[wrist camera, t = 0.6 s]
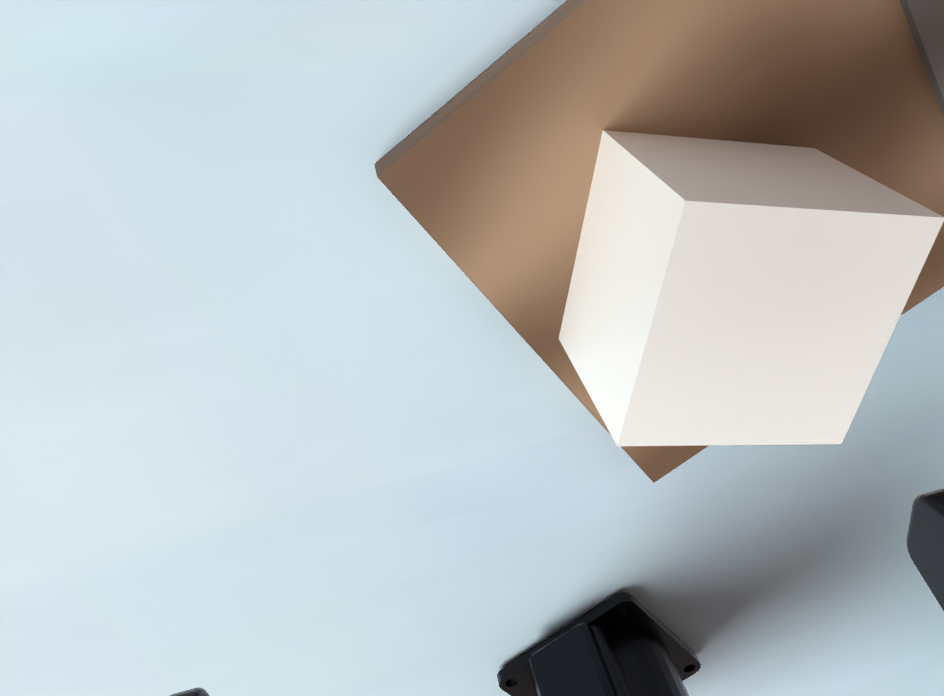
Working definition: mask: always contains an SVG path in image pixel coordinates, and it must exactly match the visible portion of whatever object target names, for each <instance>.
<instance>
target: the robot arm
mask: <svg viewBox="0 0 944 696" xmlns="http://www.w3.org/2000/svg"><path fill="white" fill-rule="evenodd" d="M907 547H908V551H909V554H910V556H911V559H912V560H913V562H914V564H915V565H916V567H917V569H918V570H919V572H920V573H921V575H922V577H923V578H924V580H925V581H926V583H927V585H928V586H929V588H930V589H931V591H932V593H933V594H934V596H935V597H936V599H937V601H938V602H939V604H940V605H941V607H942V609H943V610H944V489H940V490H937V491H933V492H929V493H925V494H922V495H919V496H918V497H917V498H916V499H915V500H914V502H913V506H912V512H911V518H910V524H909V530H908V535H907ZM700 666H701V664H700V662H699V660H698V658H697V656H696V655H695V654H694V653H693V652H692V651H691V650H690V649H689V648H688V647H687V646H686V645H685V644H684V643H683V642H681V641H680V640H679V639H678V638H677V637H676V636H675V635H674V634H673V633H672V632H671V631H670V630H668V629H667V628H666V627H665V626H664V625H663V624H662V623H661V622H660V621H659V620H658V619H657V618H655V617H654V616H653V615H652V614H651V613H650V612H649V611H648V610H647V609H646V608H645V607H644V606H642V605H641V604H640V603H639V602H638V601H637V600H636V599H635V598H634V597H633V596H632V595H630V594H628V593H620V594H617V595H615V596H613V597H612V598H610V599H609V600H607V601H606V602H604V603H603V604H601V605H600V606H598V607H597V608H595V609H593V610H592V611H590V612H589V613H587V614H586V615H584V616H583V617H581V618H580V619H578V620H577V621H575V622H573V623H572V624H570V625H569V626H567V627H566V628H564V629H563V630H561V631H560V632H558V633H557V634H555V635H553V636H552V637H550V638H549V639H547V640H546V641H544V642H543V643H541V644H540V645H538V646H537V647H535V648H533V649H532V650H530V651H529V652H527V653H526V654H524V655H523V656H521V657H520V658H518V659H517V660H515V661H513V662H512V663H510V664H509V665H507V666H506V667H504V668H503V669H501V670H500V671H499V672H498V674H497V678H498V683H499V687H500V688H501V689H502V690H504V691H505V692H507V693H508V694H509V695H511V696H689V695H688V693H687V691H686V688H685V686H684V684H683V682H682V681H683V680H685V679H686V678H688V677H690V676H691V675H693V674H695V673H696V672H697V671H698V670H699V669H700ZM170 696H209V694H208V693H207V692H206V690H204V689H202V688H194V689H190V690H187V691H183V692H179V693H175V694H173V695H170Z"/></svg>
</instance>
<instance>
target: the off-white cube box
mask: <svg viewBox="0 0 944 696" xmlns="http://www.w3.org/2000/svg"><path fill="white" fill-rule="evenodd" d="M943 222H944V217H943V216H941V215H939V214H937V213H935V212H933V211H932V210H930V209H928V208H926V207H924V206H922V205H920V204H918V203H917V202H915V201H913V200H911V199H909V198H907V197H905V196H903V195H902V194H900V193H898V192H896V191H894V190H892V189H890V188H888V187H887V186H885V185H883V184H881V183H879V182H877V181H875V180H873V179H872V178H870V177H868V176H866V175H864V174H862V173H860V172H858V171H857V170H855V169H853V168H851V167H849V166H847V165H845V164H843V163H842V162H840V161H838V160H836V159H834V158H832V157H830V156H828V155H827V154H825V153H823V152H821V151H819V150H817V149H815V148H807V147H795V146H784V145H772V144H760V143H749V142H737V141H725V140H713V139H702V138H690V137H678V136H666V135H655V134H643V133H631V132H619V131H608V130H603V131H602V136H601V141H600V146H599V150H598V155H597V160H596V164H595V169H594V174H593V179H592V183H591V188H590V193H589V197H588V202H587V207H586V212H585V216H584V221H583V226H582V231H581V235H580V240H579V245H578V249H577V254H576V259H575V264H574V268H573V273H572V278H571V282H570V287H569V292H568V297H567V301H566V306H565V311H564V315H563V320H562V325H561V330H560V334H559V340H560V342H561V344H562V346H563V348H564V349H565V351H566V353H567V355H568V357H569V359H570V360H571V362H572V364H573V366H574V368H575V370H576V371H577V373H578V375H579V377H580V379H581V381H582V382H583V384H584V386H585V388H586V390H587V392H588V394H589V395H590V397H591V399H592V401H593V403H594V405H595V406H596V408H597V410H598V412H599V414H600V416H601V417H602V419H603V421H604V423H605V425H606V427H607V428H608V430H609V432H610V434H611V436H612V438H613V439H614V441H615V443H616V445H617V446H699V445H794V444H842V442H843V440H844V437H845V435H846V433H847V431H848V429H849V427H850V424H851V422H852V420H853V418H854V416H855V413H856V411H857V409H858V407H859V405H860V403H861V400H862V398H863V396H864V394H865V392H866V390H867V387H868V385H869V383H870V381H871V379H872V376H873V374H874V372H875V370H876V368H877V366H878V363H879V361H880V359H881V357H882V355H883V352H884V350H885V348H886V346H887V344H888V342H889V339H890V337H891V335H892V333H893V331H894V329H895V326H896V324H897V322H898V320H899V318H900V315H901V313H902V311H903V309H904V307H905V305H906V302H907V300H908V298H909V296H910V294H911V291H912V289H913V287H914V285H915V283H916V281H917V278H918V276H919V274H920V272H921V270H922V267H923V265H924V263H925V261H926V259H927V257H928V254H929V252H930V250H931V248H932V246H933V244H934V241H935V239H936V237H937V235H938V233H939V230H940V228H941V226H942V224H943Z"/></svg>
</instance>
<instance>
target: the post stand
mask: <svg viewBox="0 0 944 696" xmlns="http://www.w3.org/2000/svg"><path fill="white" fill-rule="evenodd" d="M603 130H608V131H619V132H631V133H643V134H655V135H666V136H678V137H690V138H702V139H713V140H725V141H737V142H749V143H760V144H772V145H784V146H795V147H807V148H815V149H817V150H819V151H821V152H823V153H825V154H827V155H828V156H830V157H832V158H834V159H836V160H838V161H840V162H842V163H843V164H845V165H847V166H849V167H851V168H853V169H855V170H857V171H858V172H860V173H862V174H864V175H866V176H868V177H870V178H872V179H873V180H875V181H877V182H879V183H881V184H883V185H885V186H887V187H888V188H890V189H892V190H894V191H896V192H898V193H900V194H902V195H903V196H905V197H907V198H909V199H911V200H913V201H915V202H917V203H918V204H920V205H922V206H924V207H926V208H928V209H930V210H932V211H933V212H935V213H937V214H939V215H941V216H943V217H944V0H567V1H566V2H565V3H564V4H563V5H562V6H560V7H559V8H558V9H557V10H556V11H555V12H553V13H552V14H551V15H550V16H549V17H547V18H546V19H545V20H544V21H543V22H542V23H540V24H539V25H538V26H537V27H536V28H534V29H533V30H532V31H531V32H530V33H529V34H527V35H526V36H525V37H524V38H523V39H522V40H520V41H519V42H518V43H517V44H516V45H514V46H513V47H512V48H511V49H510V50H509V51H507V52H506V53H505V54H504V55H503V56H502V57H500V58H499V59H498V60H497V61H496V62H494V63H493V64H492V65H491V66H490V67H489V68H487V69H486V70H485V71H484V72H483V73H481V74H480V75H479V76H478V77H477V78H476V79H474V80H473V81H472V82H471V83H470V84H469V85H467V86H466V87H465V88H464V89H463V90H461V91H460V92H459V93H458V94H457V95H456V96H454V97H453V98H452V99H451V100H450V101H449V102H447V103H446V104H445V105H444V106H443V107H441V108H440V109H439V110H438V111H437V112H436V113H434V114H433V115H432V116H431V117H430V118H429V119H427V120H426V121H425V122H424V123H423V124H421V125H420V126H419V127H418V128H417V129H416V130H414V131H413V132H412V133H411V134H410V135H408V136H407V137H406V138H405V139H404V140H403V141H401V142H400V143H399V144H398V145H397V146H396V147H394V148H393V149H392V150H391V151H390V152H388V153H387V154H386V155H385V156H384V157H383V158H381V159H380V160H379V161H378V162H377V163H376V164H375V168H376V173H377V177H378V178H379V179H380V180H381V182H382V183H383V184H384V185H385V186H386V187H387V188H388V189H389V190H390V191H391V193H392V194H393V195H394V196H395V197H396V198H397V199H398V200H399V201H400V203H401V204H402V205H403V206H404V207H405V208H406V209H407V210H408V211H409V212H410V214H411V215H412V216H413V217H414V218H415V219H416V220H417V221H418V222H419V224H420V225H421V226H422V227H423V228H424V229H425V230H426V231H427V232H428V234H429V235H430V236H431V237H432V238H433V239H434V240H435V241H436V242H437V243H438V245H439V246H440V247H441V248H442V249H443V250H444V251H445V252H446V253H447V255H448V256H449V257H450V258H451V259H452V260H453V261H454V262H455V263H456V264H457V266H458V267H459V268H460V269H461V270H462V271H463V272H464V273H465V274H466V276H467V277H468V278H469V279H470V280H471V281H472V282H473V283H474V284H475V285H476V287H477V288H478V289H479V290H480V291H481V292H482V293H483V294H484V295H485V297H486V298H487V299H488V300H489V301H490V302H491V303H492V304H493V305H494V307H495V308H496V309H497V310H498V311H499V312H500V313H501V314H502V315H503V316H504V318H505V319H506V320H507V321H508V322H509V323H510V324H511V325H512V326H513V328H514V329H515V330H516V331H517V332H518V333H519V334H520V335H521V336H522V337H523V339H524V340H525V341H526V342H527V343H528V344H529V345H530V346H531V347H532V349H533V350H534V351H535V352H536V353H537V354H538V355H539V356H540V357H541V358H542V360H543V361H544V362H545V363H546V364H547V365H548V366H549V367H550V368H551V370H552V371H553V372H554V373H555V374H556V375H557V376H558V377H559V378H560V380H561V381H562V382H563V383H564V384H565V385H566V386H567V387H568V388H569V389H570V391H571V392H572V393H573V394H574V395H575V396H576V397H577V398H578V399H579V401H580V402H581V403H582V404H583V405H584V406H585V407H586V408H587V409H588V410H589V412H590V413H591V414H592V415H593V416H594V417H595V418H596V419H597V420H598V422H599V423H600V424H601V425H602V426H603V427H604V428H605V429H606V430H607V431H608V433H609V434H610V432H609V430H608V428H607V427H606V425H605V423H604V421H603V419H602V417H601V416H600V414H599V412H598V410H597V408H596V406H595V405H594V403H593V401H592V399H591V397H590V395H589V394H588V392H587V390H586V388H585V386H584V384H583V382H582V381H581V379H580V377H579V375H578V373H577V371H576V370H575V368H574V366H573V364H572V362H571V360H570V359H569V357H568V355H567V353H566V351H565V349H564V348H563V346H562V344H561V342H560V340H559V334H560V330H561V325H562V320H563V315H564V311H565V306H566V301H567V297H568V292H569V287H570V282H571V278H572V273H573V268H574V264H575V259H576V254H577V249H578V245H579V240H580V235H581V231H582V226H583V221H584V216H585V212H586V207H587V202H588V197H589V193H590V188H591V183H592V179H593V174H594V169H595V164H596V160H597V155H598V150H599V146H600V141H601V136H602V131H603ZM943 286H944V222H943V224H942V226H941V228H940V230H939V233H938V235H937V237H936V239H935V241H934V244H933V246H932V248H931V250H930V252H929V254H928V257H927V259H926V261H925V263H924V265H923V267H922V270H921V272H920V274H919V276H918V278H917V281H916V283H915V285H914V287H913V289H912V291H911V294H910V296H909V298H908V300H907V302H906V305H905V307H904V309H903V311H902V313H901V315H902V314H904V313H905V312H906V311H908V310H909V309H911V308H912V307H914V306H915V305H917V304H918V303H920V302H921V301H923V300H924V299H926V298H927V297H929V296H930V295H932V294H933V293H935V292H936V291H937V290H939V289H940V288H942V287H943ZM901 315H900V316H901ZM610 435H611V434H610ZM707 446H709V445H699V446H621V447H622V448H623V449H624V450H625V451H626V452H627V454H628V455H629V456H630V457H631V458H632V459H633V460H634V461H635V462H636V464H637V465H638V466H639V467H640V468H641V469H642V470H643V471H644V472H645V474H646V475H647V476H648V477H649V478H650V479H651V480H652V481H653V482H656V481H657V480H659V479H660V478H661V477H663V476H664V475H666V474H667V473H669V472H670V471H672V470H673V469H675V468H676V467H678V466H679V465H681V464H682V463H684V462H685V461H687V460H688V459H690V458H691V457H692V456H694V455H695V454H697V453H698V452H700V451H701V450H703V449H704V448H706V447H707Z"/></svg>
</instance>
